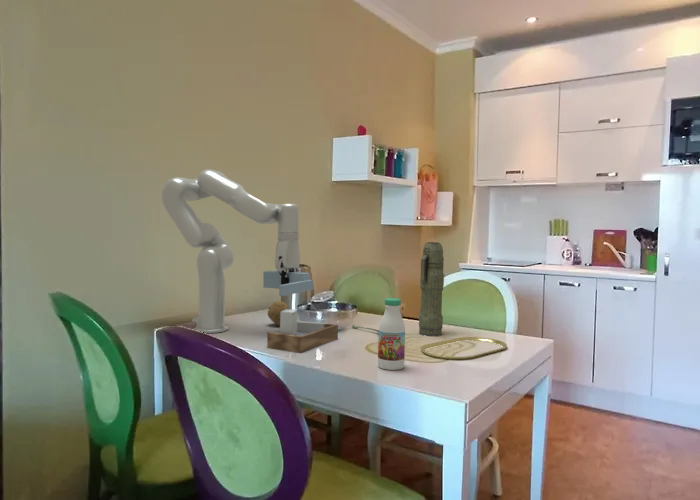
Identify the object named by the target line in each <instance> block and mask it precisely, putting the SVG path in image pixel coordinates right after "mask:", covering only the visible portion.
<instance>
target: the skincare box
mask: <svg viewBox="0 0 700 500" xmlns="http://www.w3.org/2000/svg"><path fill="white" fill-rule="evenodd" d="M297 322H298V309H291V308H289V309H286V310H283V311H281V313H280V326H279V333H281V334H288V335H295V336H298V332H297Z"/></svg>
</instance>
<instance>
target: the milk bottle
mask: <svg viewBox="0 0 700 500" xmlns="http://www.w3.org/2000/svg"><path fill="white" fill-rule="evenodd" d="M401 304H402V301H401V299H400V298H396V297H395V298H394V297H393V298H392V297H388V298H385V299H384V308H385V310H384V314H383V315H382V318H381V320H380V321H379V327H378V330H379V333H378V341H377V343H378V346H377V348H378V349H377V351H378V352H377V365H378V367H379V368H380V369H383V370H388V371H389V370H390V371H399V370H402V369H404V367H405V357H406V356H405V355H406V353H405V352H406V327H405V321H404V320H403V317H402V314H401V311H400V310H401Z"/></svg>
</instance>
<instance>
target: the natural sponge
mask: <svg viewBox="0 0 700 500" xmlns="http://www.w3.org/2000/svg"><path fill="white" fill-rule="evenodd" d="M286 309H290V307H289V306H288V304H287V303H286V302H284V301H282V300H276V301H273V303H271V305H270V306H269V309H268V311H267V316H268V319H270V321H271V322H272V323H273V324H274V325H276V326H278V327H280V313H281V311H283V310H286Z"/></svg>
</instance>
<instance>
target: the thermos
mask: <svg viewBox="0 0 700 500" xmlns="http://www.w3.org/2000/svg"><path fill="white" fill-rule="evenodd" d="M444 260H445V259H444V249H443V245H442V243H440V242H435V241H434V242H432V241H430V242H426V243H424V245H423V249H422V255H421V259H420V283H419V286H420V287H419V288H420V295H421V296H420V313H419V316H418V327H419V331H418V333H419V335H421V336H424V335H426V337H440V336H442V335H443V331H442V330H443V321H444V320H443V319H444V317H443V314H442V310H443V309H442V305H443V291H444V287H445V285H444V283H445V281H444V280H445V274H444ZM441 334H442V335H441ZM439 335H440V336H439Z"/></svg>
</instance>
